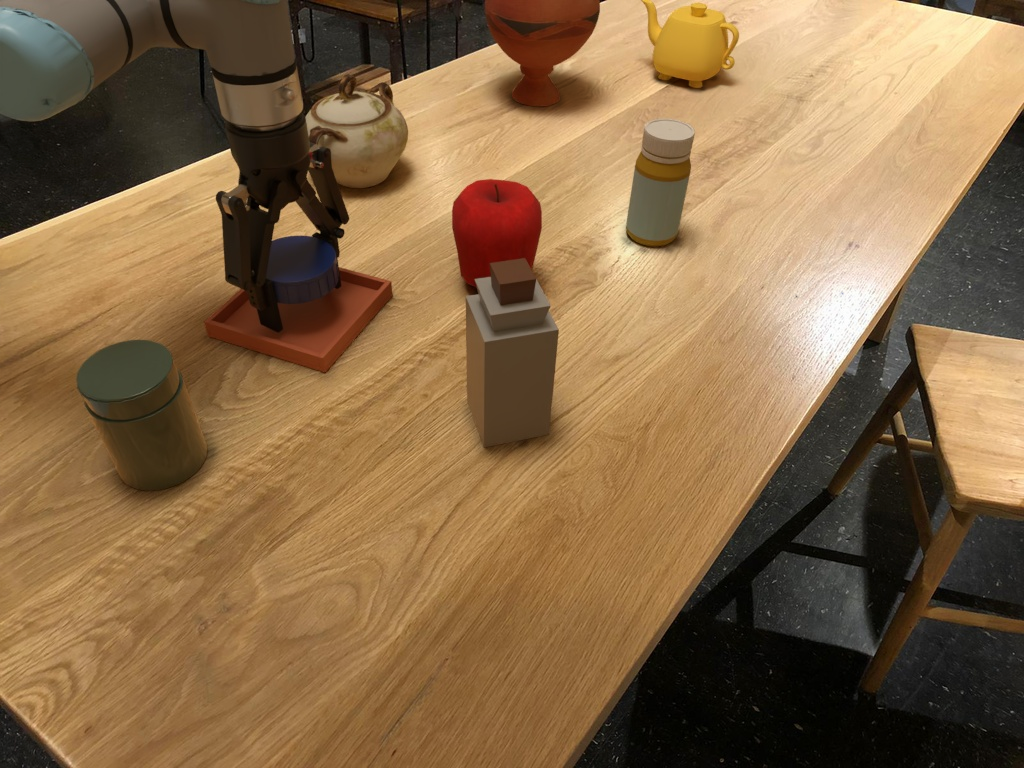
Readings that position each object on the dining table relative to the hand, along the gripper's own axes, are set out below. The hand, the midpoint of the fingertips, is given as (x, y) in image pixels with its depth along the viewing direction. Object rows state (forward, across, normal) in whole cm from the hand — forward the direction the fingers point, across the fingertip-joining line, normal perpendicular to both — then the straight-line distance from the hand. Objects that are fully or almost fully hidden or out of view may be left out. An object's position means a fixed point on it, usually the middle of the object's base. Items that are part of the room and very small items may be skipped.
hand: (302, 304), depth 88 cm
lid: (-6, 0, 0) cm, 6 cm away
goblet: (+2, +69, +9) cm, 70 cm away
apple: (+2, +18, -15) cm, 23 cm away
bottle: (+2, +39, -26) cm, 47 cm away
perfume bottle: (+2, -1, -28) cm, 29 cm away
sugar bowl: (+2, +30, +16) cm, 34 cm away
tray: (+2, 0, 0) cm, 2 cm away
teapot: (+2, +95, -8) cm, 95 cm away
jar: (+2, -24, -4) cm, 24 cm away
